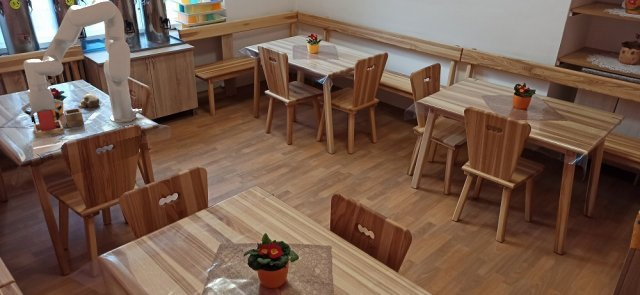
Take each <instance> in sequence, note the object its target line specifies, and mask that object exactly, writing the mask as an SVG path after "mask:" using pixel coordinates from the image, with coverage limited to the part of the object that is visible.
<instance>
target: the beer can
mask: <svg viewBox="0 0 640 295" xmlns="http://www.w3.org/2000/svg"><path fill="white" fill-rule="evenodd" d="M36 116H37V120H38V124H40V128H41V129H40V132H41V131H47V130H52V129H58V128H57V126H56V124H55V121H56V120H55V115H54V111H53V109H52V110H49V109H48V110H44V111H39V112H36Z"/></svg>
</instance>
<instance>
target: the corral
mask: <svg viewBox="0 0 640 295" xmlns="http://www.w3.org/2000/svg"><path fill="white" fill-rule="evenodd" d="M55 124H56V127H59V128H57V129H52V130H47V131H41V128H40V124H39V123H36V124H32V126H33V129H34V134H35V136H36V138H37V139H38V138H39V139H40V138H45V137H50V136H55V135H59V134H65V129H64V127H63V125H62V122H61V120H60V119H59V120H55ZM38 130H40V131H38Z"/></svg>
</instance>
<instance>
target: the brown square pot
mask: <svg viewBox="0 0 640 295" xmlns="http://www.w3.org/2000/svg"><path fill="white" fill-rule="evenodd" d="M63 113H64V118H65V122H66V125H67V127H68V128H74V127H79V126H85V122H84V118H83V112H82V109H80V108H78V107H76V108H71V109H66V110H65V109H64V110H63Z"/></svg>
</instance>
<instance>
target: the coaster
mask: <svg viewBox="0 0 640 295" xmlns="http://www.w3.org/2000/svg"><path fill="white" fill-rule="evenodd" d="M64 132H65V134H66V136H67V137H71V136H74V135H75V136H76V135H80V134H85V133H88V132H89V130H88V129H87V127H86V126H85V125H80V126H74V127H69V128H66V129H64Z"/></svg>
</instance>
